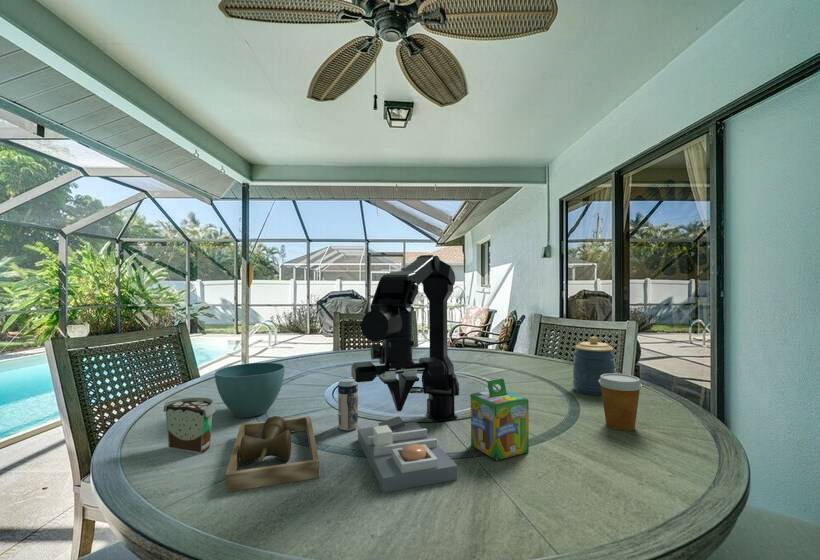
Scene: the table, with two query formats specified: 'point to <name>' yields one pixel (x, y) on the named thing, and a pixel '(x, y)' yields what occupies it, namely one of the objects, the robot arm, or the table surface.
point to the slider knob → (382, 435)
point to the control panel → (412, 473)
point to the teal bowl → (250, 387)
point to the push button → (413, 452)
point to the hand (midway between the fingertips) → (398, 410)
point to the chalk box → (499, 422)
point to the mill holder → (276, 472)
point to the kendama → (267, 442)
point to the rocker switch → (393, 423)
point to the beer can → (348, 404)
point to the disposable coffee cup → (620, 400)
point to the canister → (592, 365)
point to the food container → (189, 423)
